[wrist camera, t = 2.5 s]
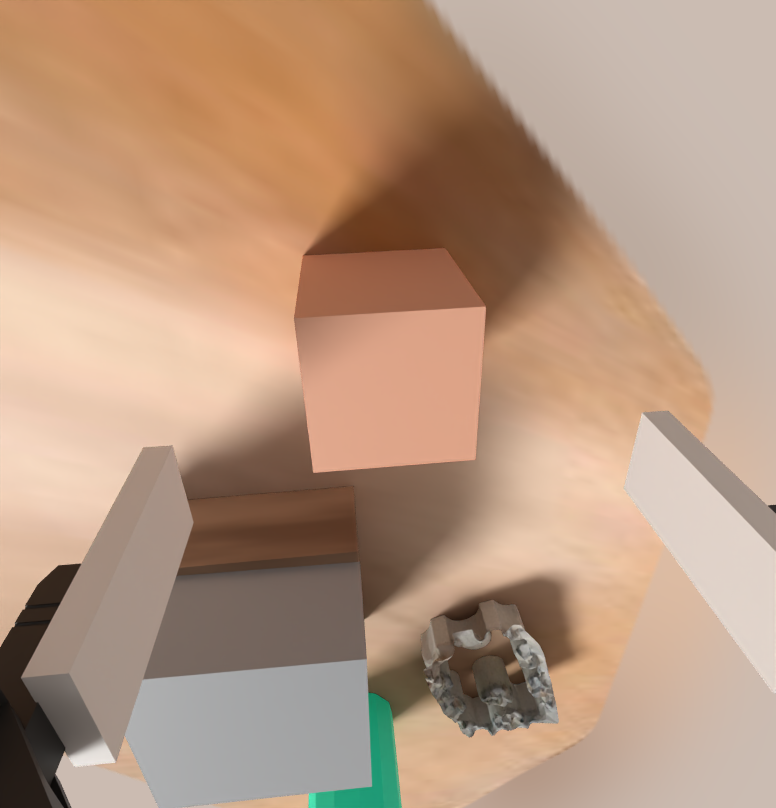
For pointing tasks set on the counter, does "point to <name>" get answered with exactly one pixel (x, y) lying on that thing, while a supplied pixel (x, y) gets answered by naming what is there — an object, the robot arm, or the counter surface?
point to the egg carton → (488, 672)
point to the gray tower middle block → (256, 688)
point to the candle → (383, 798)
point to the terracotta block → (389, 358)
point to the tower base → (271, 531)
